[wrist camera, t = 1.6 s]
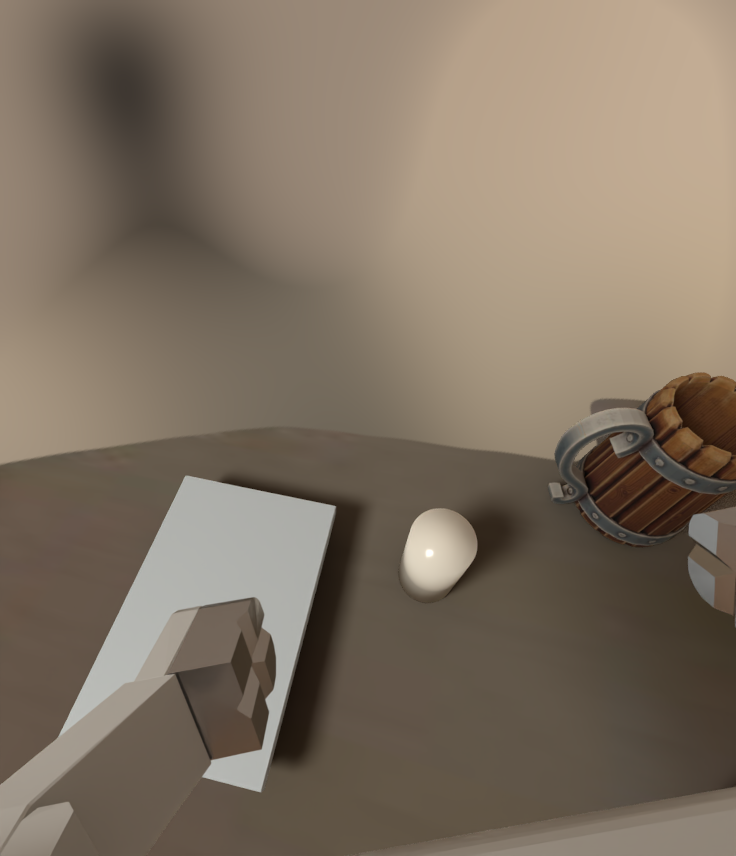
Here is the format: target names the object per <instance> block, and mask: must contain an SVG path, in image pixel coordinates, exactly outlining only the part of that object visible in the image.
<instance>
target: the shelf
mask: <svg viewBox="0 0 736 856" xmlns="http://www.w3.org/2000/svg"><path fill="white" fill-rule="evenodd" d="M335 516H336V506H332V505H328V504H323V503H318V502H313V501H308V500H303V499H298V498H293V497H288V496H283V495H279V494H274V493H269V492H264V491H259V490H254V489H249V488H244V487H239V486H234V485H230V484H225V483H220V482H215V481H210V480H205V479H200V478H195V477H190V476H185V478H184V480H183V482H182V484H181V486H180V488H179V491H178V493H177V495H176V497H175V499H174V501H173V503H172V505H171V507H170V509H169V511H168V513H167V515H166V517H165V519H164V521H163V523H162V525H161V527H160V530H159V532H158V534H157V536H156V538H155V540H154V542H153V544H152V546H151V548H150V550H149V552H148V554H147V556H146V558H145V560H144V562H143V564H142V567H141V569H140V571H139V573H138V575H137V577H136V579H135V581H134V583H133V585H132V587H131V589H130V591H129V593H128V595H127V597H126V599H125V601H124V603H123V606H122V608H121V610H120V612H119V614H118V616H117V618H116V620H115V622H114V624H113V626H112V628H111V630H110V632H109V634H108V636H107V638H106V640H105V642H104V645H103V647H102V649H101V651H100V653H99V655H98V657H97V659H96V661H95V663H94V665H93V667H92V669H91V671H90V673H89V675H88V677H87V679H86V682H85V684H84V686H83V688H82V690H81V692H80V694H79V696H78V698H77V700H76V702H75V704H74V706H73V708H72V710H71V712H70V714H69V716H68V718H67V721H66V723H65V725H64V727H63V729H62V731H61V733H60V735H59V737H60V736H61V735H62V734H63V733H65V732H66V731H67V730H68V729H70V728H71V727H72V726H73V725H74V724H76V723H77V722H78V721H79V720H81V719H82V718H83V717H84V716H85V715H87V714H88V713H89V712H90V711H92V710H93V709H94V708H95V707H96V706H98V705H99V704H100V703H101V702H103V701H104V700H105V699H106V698H107V697H109V696H110V695H111V694H112V693H114V692H115V691H116V690H117V689H118V688H120V687H121V686H122V685H123V684H125V683H128V682H133V681H134V680H135V679H136V677H137V675H138V673H139V672H140V670H141V668H142V666H143V664H144V663H145V661H146V659H147V657H148V655H149V654H150V652H151V650H152V648H153V647H154V645H155V643H156V641H157V639H158V638H159V636H160V634H161V632H162V631H163V629H164V627H165V625H166V623H167V622H168V620H169V618H170V616H171V615H172V614H173V613H174V612H176V611H178V610H182V609H187V608H192V607H197V606H204V605H209V604H215V603H221V602H227V601H233V600H239V599H245V598H251V597H256V598H257V599H258V600H259V601H260V603H261V606H262V609H263V612H264V619H263V623H262V628H263V629H264V630H266V631H267V632H268V633H270V634H271V637H272V640H273V643H274V648H275V654H276V679H275V685H274V690H273V691H272V692H271V693H270V694H269V695H268V697H267V698H266V699H265V700H266V704H267V707H268V710H269V716H268V721H267V726H266V731H265V736H264V741H263V746H262V749H261V750H257V751H252V752H247V753H243V754H238V755H234V756H229V757H224V758H220V759H215V760H210V761H211V765H210V766H209V768H208V769H207V771H206V772H205V773H204V775H203V776H202V777H204V778H208V779H212V780H216V781H219V782H223V783H227V784H231V785H235V786H239V787H242V788H246V789H250V790H254V791H258V792H262V791H263V790H264V789H265V786H266V782H267V778H268V774H269V770H270V766H271V762H272V759H273V755H274V751H275V747H276V743H277V739H278V735H279V732H280V728H281V724H282V720H283V716H284V712H285V708H286V705H287V701H288V697H289V693H290V689H291V685H292V681H293V678H294V674H295V670H296V666H297V662H298V658H299V654H300V651H301V647H302V643H303V639H304V635H305V631H306V627H307V624H308V620H309V616H310V612H311V608H312V604H313V600H314V597H315V593H316V589H317V585H318V581H319V577H320V573H321V570H322V566H323V562H324V558H325V554H326V550H327V546H328V543H329V539H330V535H331V531H332V527H333V523H334V519H335Z"/></svg>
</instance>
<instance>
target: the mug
mask: <svg viewBox="0 0 736 856" xmlns="http://www.w3.org/2000/svg"><path fill="white" fill-rule="evenodd" d="M611 433H612V434H611ZM607 434H611V435H610V436H609V437H608V438H606V439H605V440H604V441H603V442H602V443H601V444H599V445H597V446H595V447H594V448H593V449H592V450H591V451H589V452H588V453H587V454H586V455H585V456H584V457H583V458H582V459H581V460H580V461H579V462H578V464H577V466H576V467H575V466H574V465H573V461H574V459H575V457H576V456H577V454H578V453H579V451H580V450H581V449H582V448H584V447H585V446H586V445H587V444H589V443H590V442H592V441H594V440H596V439H598V438H600V437H602V436H605V435H607ZM555 460H556V463H557V466H558V469H559V473H560V475H561V477H562V478H563V480H564V481H565V482H567V483H568V484H567V485H564V486H560V483H549V484H548V490H549V494H550V497H551V501H552V502H553V503H557V504H566V503H571V502H575V505H576V507H577V508H578V509H579V510H580V512H581V515H582V516H583V517H584V519H585V520H586V521H587V522H588V523H589V524H590V525H591V526H592V527H593V528H594V529H595V530H597V531H599V532H600V533H601V534H602V535H603V536H605V537H607V538H609V539H611V540H612V541H615V542H617V543H620V544H628V545H630V546H632V547H649V546H652V545H655V544H661V543H663V542H665V541H667V540H669V539H670V538H672V537H674V536H675V535H676V534H678V533H679V532H680V531H682V530H683V529H684V528H685V526H686V525H687V524H688V523H689V522H690V520H691V518H692V516H693V515H695V514H699V513H702V512H703V511H704V510H706V509H707V508H708V507H710V506H711V505H712V504H714V503H715V502H716V501H718V500H719V499H720V498H722V497H723V496H724V495H726V494H727V493H729V492H731V491H733V490H735V489H736V382H735V381H734V380H732V379H730V378H727V377H724V376H718V377H713V378H711V376H710V375H709V374H707V373H693V374H690V375H687V376H681V377H679V378H676V379H674V380H672V381H670V382H669V383H668V384H667V385H666V386H665V387H664V388H663V389H661V390H659V391H656V392H655V393H654V394H653V395H652V396H650V397H649V399H647V400H646V401H645V402H644V403H643V404H642V405H640V406H639V407H638V408H637V409H634V408H615V409H609V410H605V411H601V412H598V413H595V414H593V415H591V416H588V417H586V418H584V419H582V420H581V421H579V422H578V423H576V424H574V425H573V426H572V427H570V428H569V429H568V430H567V431H566V432H565V433H564V434H563V436H562V437H561V439H560V440H559V442H558V444H557V447H556V450H555Z"/></svg>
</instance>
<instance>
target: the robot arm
mask: <svg viewBox="0 0 736 856" xmlns="http://www.w3.org/2000/svg"><path fill="white" fill-rule="evenodd" d="M689 536H690V537H691V538H692V539H693V541H694V542H695V543H696V546H695V547H694V548H693V550H692V551H691V553H690V554H689V555H688V572H689V575H690V577H691V580H692V582H693V585H694V587H695V588H696V590H697V591H698V593H699V594H700V595H701V597H702V598H703V599H704V600H705V601H707V602H708V603H709V604H710V605H711V606H712V607H713V608H715V609H718V610H720V611H723V612H725V613H728V614H731V615H733V617H734V623H735V627H736V506H734V507H729V508H724V509H719V510H714V511H709V512H704V513H699V514H695V515H693V516H692V518H691V520H690V522H689ZM263 619H264V612H263V609H262V606H261V603H260V601H259V600H258V599H257V598H256V597H251V598H245V599H239V600H233V601H227V602H221V603H215V604H209V605H204V606H197V607H192V608H187V609H182V610H178V611H176V612H174V613H173V614H172V615H171V616H170V618H169V620H168V622H167V623H166V625H165V627H164V629H163V631H162V632H161V634H160V636H159V638H158V639H157V641H156V643H155V645H154V647H153V648H152V650H151V652H150V654H149V655H148V657H147V659H146V661H145V663H144V664H143V666H142V668H141V670H140V672H139V673H138V675H137V677H136V679H135V680H134V681H133V682H128V683H125V684H123V685H122V686H121V687H120V688H118V689H117V690H116V691H115V692H114V693H112V694H111V695H110V696H109V697H107V698H106V699H105V700H104V701H103V702H101V703H100V704H99V705H98V706H96V707H95V708H94V709H93V710H92V711H90V712H89V713H88V714H87V715H85V716H84V717H83V718H82V719H81V720H79V721H78V722H77V723H76V724H74V725H73V726H72V727H71V728H70V729H68V730H67V731H66V732H65V733H63V734H62V735H61V736H60V737H58V738H57V739H56V740H55V741H54V742H52V743H51V744H50V745H49V746H47V747H46V748H45V749H44V750H43V751H41V752H40V753H39V754H38V755H36V756H35V757H34V758H33V759H32V760H30V761H29V762H28V763H27V764H25V765H24V766H23V767H22V768H21V769H19V770H18V771H17V772H16V773H14V774H13V775H12V776H11V777H10V778H8V779H7V780H6V781H5V782H3V783H2V784H1V785H0V856H146V855H147V853H148V852H149V850H150V849H151V848H152V846H153V845H154V843H155V842H156V841H157V839H158V838H159V836H160V835H161V834H162V832H163V831H164V829H165V828H166V827H167V825H168V824H169V822H170V821H171V820H172V818H173V817H174V815H175V814H176V813H177V811H178V810H179V808H180V807H181V806H182V804H183V803H184V801H185V800H186V799H187V797H188V796H189V794H190V793H191V792H192V790H193V789H194V787H195V786H196V785H197V783H198V782H199V780H200V779H201V778H202V776H203V775H204V773H205V772H206V771H207V769H208V768H209V766H210V765H211V761H210V760H215V759H220V758H224V757H229V756H234V755H238V754H243V753H247V752H252V751H257V750H261V749H262V746H263V741H264V736H265V731H266V726H267V721H268V716H269V710H268V707H267V704H266V700H265V699H266V698H267V697H268V695H269V694H270V693H271V692H272V691H273V690H274V685H275V679H276V654H275V648H274V643H273V640H272V637H271V634H270V633H268V632H267V631H266V630H264V629H263V628H262V623H263ZM347 856H736V787H732V788H726V789H720V790H715V791H709V792H703V793H698V794H692V795H686V796H681V797H675V798H669V799H664V800H658V801H652V802H647V803H641V804H635V805H630V806H624V807H618V808H613V809H607V810H601V811H596V812H590V813H584V814H579V815H573V816H567V817H562V818H556V819H550V820H545V821H539V822H533V823H528V824H522V825H516V826H510V827H505V828H499V829H493V830H488V831H482V832H476V833H471V834H465V835H459V836H454V837H448V838H443V839H437V840H431V841H426V842H420V843H414V844H409V845H403V846H397V847H392V848H386V849H380V850H375V851H369V852H363V853H358V854H352V855H347Z"/></svg>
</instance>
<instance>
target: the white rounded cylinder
mask: <svg viewBox="0 0 736 856" xmlns="http://www.w3.org/2000/svg"><path fill="white" fill-rule="evenodd" d="M476 552H477V537H476V534H475V531H474V529H473V527H472V526H471V524H470V523H469V522H468V521H467V520H466V519H465V518H464V517H463V516H462V515H460V514H458V513H457V512H455V511H452V510H449V509H443V508H437V509H431V510H428V511H426V512H424V513H422V514H421V515H420V516H419V517H418V518H417V519H416V520H415V521H414V523H413V525H412V527H411V530H410V533H409V536H408V540H407V543H406V546H405V549H404V552H403V555H402V558H401V561H400V565H399V569H398V576H399V581H400V584H401V586H402V588H403V590H404V591H405V592H406V593H407V594H408V595H409V596H410V597H411V598H413V599H414V600H416V601H418V602H422V603H434V602H437V601H440V600H441V599H443V598H444V597H445V596H446V595H447V594H448V593H449V592H450V590H451V589H452V588H453V586H454V585H455V584H456V583H457V581H458V580H459V579H460V577H461V576H462V575H463V573H464V572H465V571H466V569H467V568H468V567H469V566H470V564H471V563H472V561H473V560H474V558H475V556H476Z"/></svg>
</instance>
